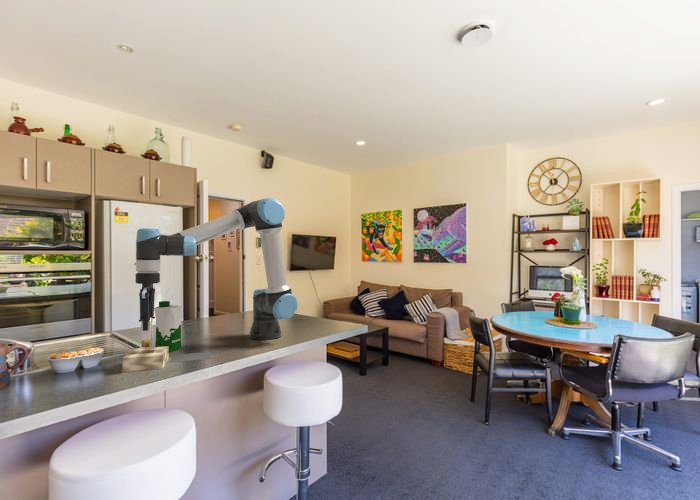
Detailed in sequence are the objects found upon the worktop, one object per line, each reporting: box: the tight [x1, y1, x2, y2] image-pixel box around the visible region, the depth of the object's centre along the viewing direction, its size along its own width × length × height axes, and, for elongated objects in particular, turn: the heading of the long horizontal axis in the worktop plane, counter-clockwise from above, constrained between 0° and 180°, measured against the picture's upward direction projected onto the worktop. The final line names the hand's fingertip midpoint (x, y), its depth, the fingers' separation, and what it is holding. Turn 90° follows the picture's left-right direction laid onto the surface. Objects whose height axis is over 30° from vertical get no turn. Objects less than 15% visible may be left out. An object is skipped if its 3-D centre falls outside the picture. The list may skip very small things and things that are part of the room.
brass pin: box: [141, 317, 153, 348], centre depth 125 cm, size 3×3×10 cm
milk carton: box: [154, 300, 184, 353], centre depth 145 cm, size 9×9×20 cm
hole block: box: [121, 346, 170, 373], centre depth 125 cm, size 12×12×5 cm
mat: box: [169, 351, 213, 363], centre depth 135 cm, size 14×10×1 cm
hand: (146, 338), depth 125 cm, fingers closed on brass pin, 2 cm apart
